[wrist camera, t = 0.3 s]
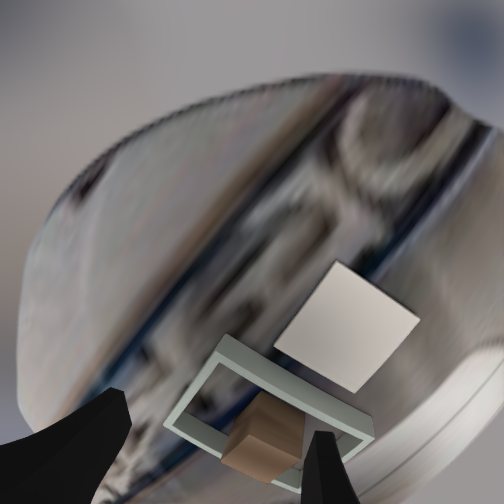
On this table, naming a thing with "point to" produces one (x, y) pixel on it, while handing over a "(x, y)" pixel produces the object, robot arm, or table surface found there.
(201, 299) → the table surface
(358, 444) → the green rectangular frame
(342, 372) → the tile
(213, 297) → the table surface
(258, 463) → the walnut block
